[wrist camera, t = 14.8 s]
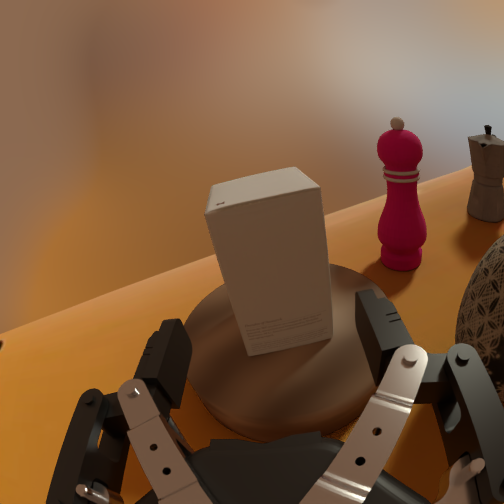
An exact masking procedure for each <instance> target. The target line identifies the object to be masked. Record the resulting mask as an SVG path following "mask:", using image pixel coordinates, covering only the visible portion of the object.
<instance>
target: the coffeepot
mask: <svg viewBox="0 0 504 504" xmlns="http://www.w3.org/2000/svg"><path fill="white" fill-rule="evenodd" d="M484 127H485V132H486V134H483V135H478V136H471V137H468V141H469V147H470V154H471V162H472V169H473V172H474V180H473V181H472V186H471V191H470V196H469V201H468V205H467V208H468V213H469V214H470V215H471V216H473V217H475V218H477V219H479V220H482V221H486V222H499V221H501V220H502V219H503V218H504V189H503V186H502V180H503V177H504V141H502V140H500V139H498V138H496V136H495V135H491V128H492V127H491V126H489V125H485V126H484Z"/></svg>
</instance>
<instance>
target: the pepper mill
mask: <svg viewBox="0 0 504 504" xmlns="http://www.w3.org/2000/svg"><path fill="white" fill-rule="evenodd" d="M391 127H392V128H393V130H389V131H387V132H385V133H383V134H382V135H381V136H380V138H379V140H378V144H377V152H378V156H379V158H380V159H381V161H383V163H384V164H385V166H384V167H383V171H384V175H383V177H384V179H386V180H387V199H386V204H385V207H384V209H383V212H382V214H381V217H380V220H379V224H378V238H379V240H380V242H381V243H382V244H383V245H382V247H381V261H382V263H383V264H384V265H385V266H386V267H388V268H390V269H393V270H397V271H408V270H412V269H415V268H416V267H417V266H419V265H420V263H421V258H422V249H421V246H422V245H423V244H424V242H425V240H426V236H427V231H426V223H425V219H424V217H423V214H422V211H421V208H420V205H419V201H418V196H417V181H418V180H419V179H420V175H419V171H420V169H419V167H417V165H418V163H419V162H420V161H421V159H422V155H423V150H422V145H421V142H420V140H419V139H418V137H417V136H416V135H415V134H413V133H412V132H410V131H407V130H403V128H404V122H403V120H402V119H401V118H399V117H394V118H393V119H392V120H391Z"/></svg>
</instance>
